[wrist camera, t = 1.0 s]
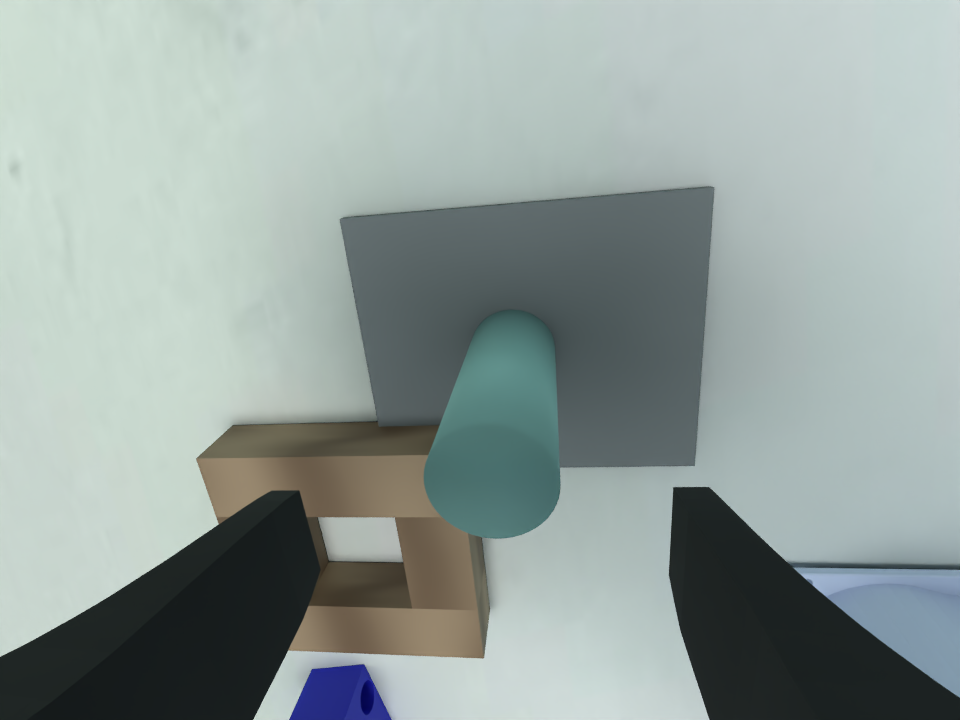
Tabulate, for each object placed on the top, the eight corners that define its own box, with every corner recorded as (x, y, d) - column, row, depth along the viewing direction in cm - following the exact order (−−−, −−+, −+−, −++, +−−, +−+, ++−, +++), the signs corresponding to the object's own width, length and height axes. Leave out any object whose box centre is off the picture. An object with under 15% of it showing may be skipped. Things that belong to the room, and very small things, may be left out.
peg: (553, 307, 18) (557, 421, 11) (556, 386, 19) (563, 538, 12) (467, 311, 18) (414, 425, 11) (475, 388, 20) (432, 537, 12)
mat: (710, 186, 16) (714, 187, 16) (691, 460, 20) (694, 465, 20) (344, 217, 18) (339, 219, 18) (389, 463, 22) (387, 469, 21)
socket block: (467, 419, 21) (457, 454, 18) (489, 609, 24) (483, 658, 22) (232, 425, 22) (196, 458, 20) (287, 604, 26) (262, 649, 23)
